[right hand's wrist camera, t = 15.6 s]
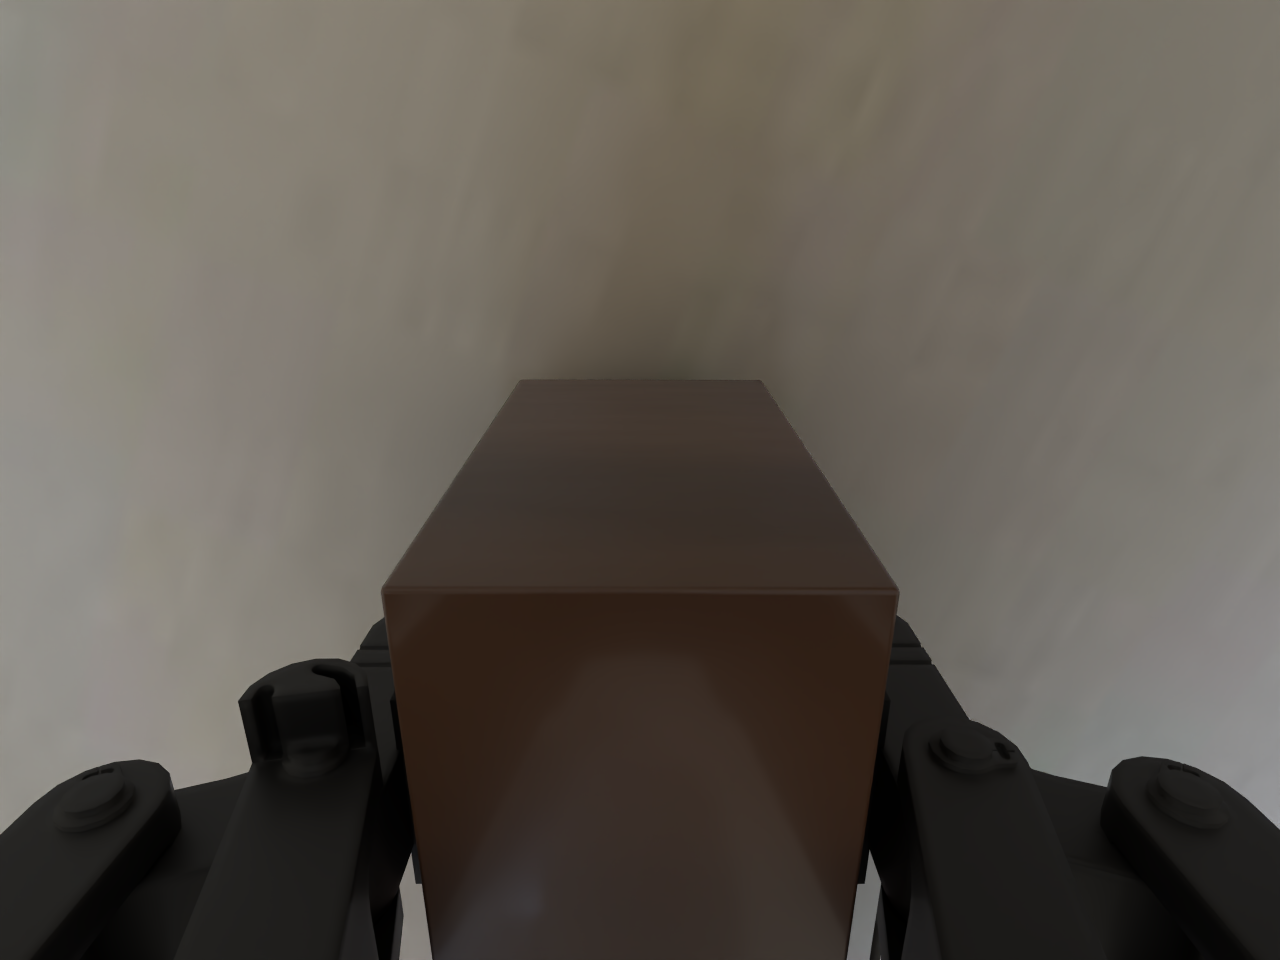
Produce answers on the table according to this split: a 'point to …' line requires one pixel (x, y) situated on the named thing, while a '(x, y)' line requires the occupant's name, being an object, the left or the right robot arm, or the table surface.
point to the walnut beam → (640, 682)
